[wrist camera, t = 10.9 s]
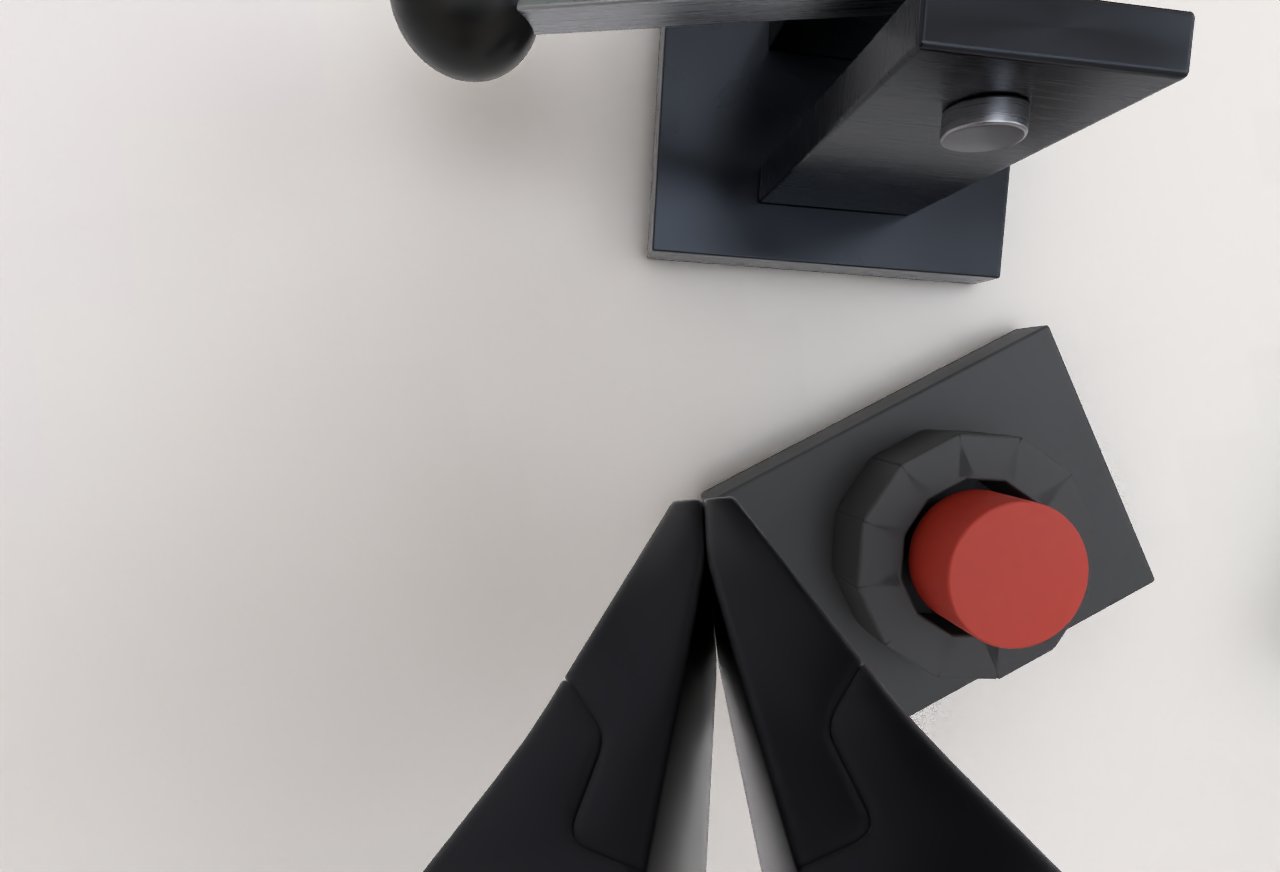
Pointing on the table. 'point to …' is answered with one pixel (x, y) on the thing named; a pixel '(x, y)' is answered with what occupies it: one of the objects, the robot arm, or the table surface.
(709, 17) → the ball knob lever
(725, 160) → the dark grey lever base
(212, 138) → the table surface
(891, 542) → the control block
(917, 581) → the red button
